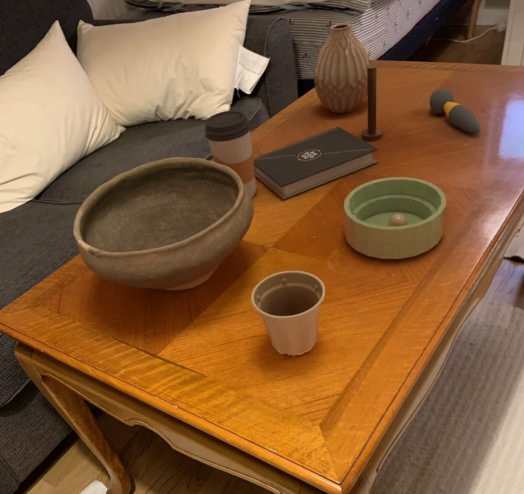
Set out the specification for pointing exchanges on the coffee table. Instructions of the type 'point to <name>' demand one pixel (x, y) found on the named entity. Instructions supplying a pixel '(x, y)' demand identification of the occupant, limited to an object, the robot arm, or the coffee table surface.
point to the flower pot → (290, 309)
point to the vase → (341, 70)
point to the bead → (397, 220)
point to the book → (313, 162)
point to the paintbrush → (454, 111)
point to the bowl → (164, 223)
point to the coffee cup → (232, 144)
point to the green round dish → (387, 204)
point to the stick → (371, 107)
